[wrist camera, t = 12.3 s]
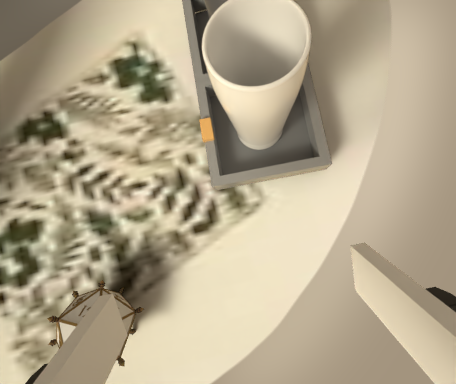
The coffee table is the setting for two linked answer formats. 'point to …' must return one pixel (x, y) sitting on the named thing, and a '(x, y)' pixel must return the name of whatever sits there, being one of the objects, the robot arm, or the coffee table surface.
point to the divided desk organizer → (227, 136)
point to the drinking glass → (257, 64)
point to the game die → (82, 306)
